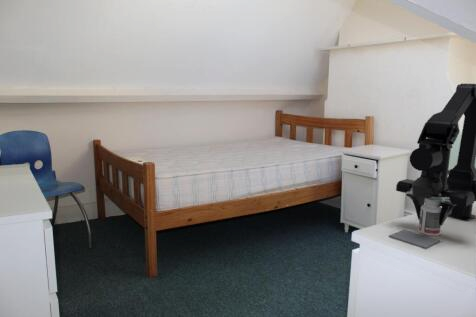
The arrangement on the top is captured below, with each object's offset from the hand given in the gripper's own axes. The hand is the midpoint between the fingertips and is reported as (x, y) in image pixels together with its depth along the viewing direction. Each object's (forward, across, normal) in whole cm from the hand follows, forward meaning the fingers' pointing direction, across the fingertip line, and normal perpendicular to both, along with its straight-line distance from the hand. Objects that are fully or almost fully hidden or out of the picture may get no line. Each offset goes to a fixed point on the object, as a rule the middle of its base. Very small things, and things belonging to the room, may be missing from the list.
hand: (430, 222), depth 112 cm
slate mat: (+3, 0, -8) cm, 9 cm away
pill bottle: (+3, 0, 0) cm, 3 cm away
